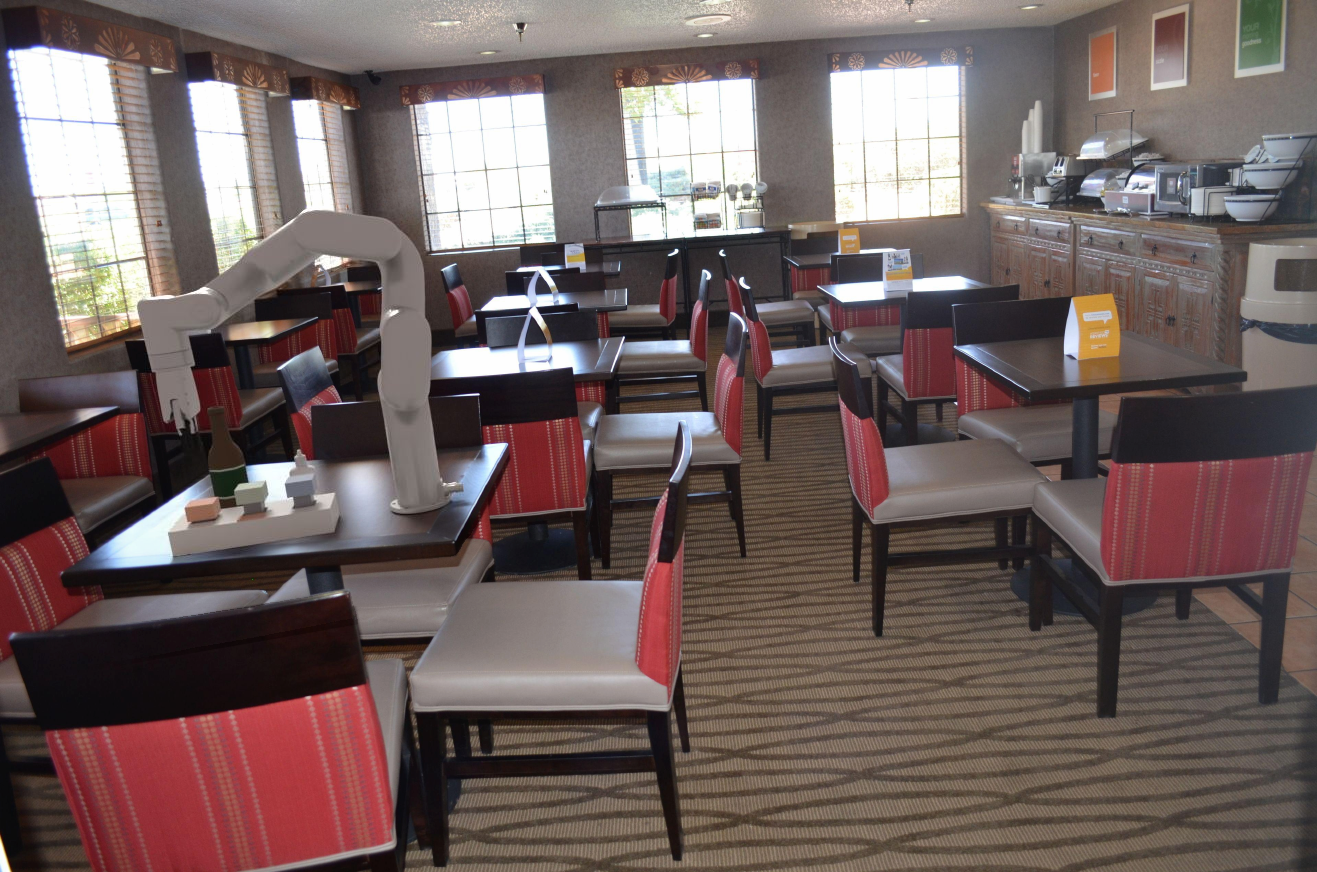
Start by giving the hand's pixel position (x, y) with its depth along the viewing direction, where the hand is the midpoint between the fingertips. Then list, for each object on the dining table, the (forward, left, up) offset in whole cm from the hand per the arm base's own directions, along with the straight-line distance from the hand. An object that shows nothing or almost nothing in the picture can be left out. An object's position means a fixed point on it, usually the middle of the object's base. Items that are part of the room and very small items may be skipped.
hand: (193, 452), depth 187 cm
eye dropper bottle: (-16, -21, -19) cm, 32 cm away
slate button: (-19, 0, -16) cm, 25 cm away
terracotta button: (0, 0, -18) cm, 18 cm away
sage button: (-9, 0, -16) cm, 19 cm away
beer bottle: (-1, -20, -19) cm, 27 cm away
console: (-9, 0, -19) cm, 21 cm away
